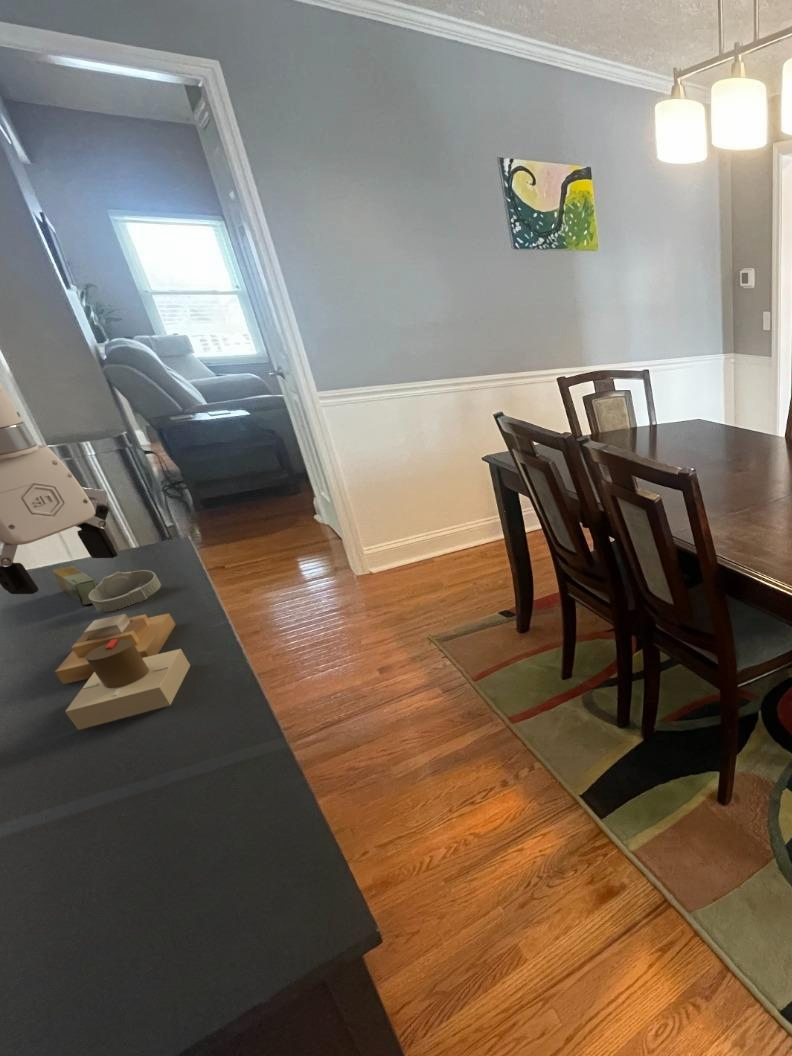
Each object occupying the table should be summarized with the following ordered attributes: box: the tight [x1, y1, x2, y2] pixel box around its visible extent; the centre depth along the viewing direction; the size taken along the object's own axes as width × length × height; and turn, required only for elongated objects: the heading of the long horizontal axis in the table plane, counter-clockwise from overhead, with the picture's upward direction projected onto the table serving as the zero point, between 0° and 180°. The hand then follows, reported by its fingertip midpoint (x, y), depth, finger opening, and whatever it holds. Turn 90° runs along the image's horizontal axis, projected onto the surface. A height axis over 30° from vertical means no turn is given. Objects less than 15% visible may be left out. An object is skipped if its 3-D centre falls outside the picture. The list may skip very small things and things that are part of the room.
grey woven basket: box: [88, 569, 162, 613], centre depth 103 cm, size 9×6×5 cm
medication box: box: [52, 565, 98, 607], centre depth 105 cm, size 12×3×4 cm, turn 60°
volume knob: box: [85, 639, 149, 688], centre depth 77 cm, size 4×4×5 cm
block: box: [54, 612, 177, 685], centre depth 88 cm, size 10×12×4 cm
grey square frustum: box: [83, 613, 131, 640], centre depth 87 cm, size 4×4×2 cm
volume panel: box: [64, 648, 191, 731], centre depth 79 cm, size 9×10×3 cm
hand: (67, 574), depth 77 cm, fingers open, 9 cm apart
